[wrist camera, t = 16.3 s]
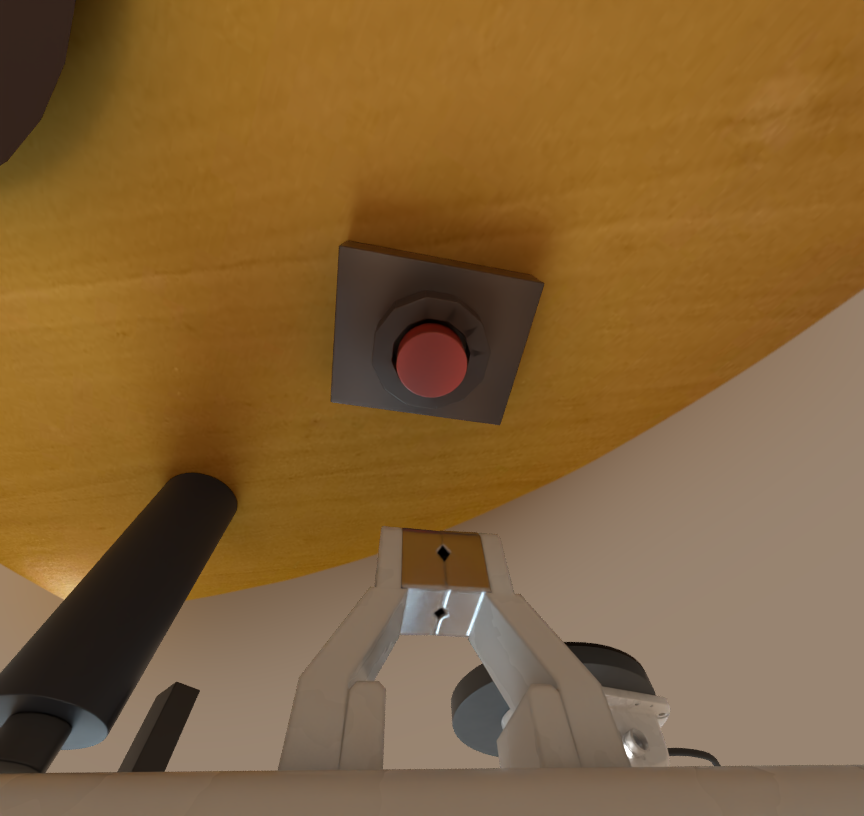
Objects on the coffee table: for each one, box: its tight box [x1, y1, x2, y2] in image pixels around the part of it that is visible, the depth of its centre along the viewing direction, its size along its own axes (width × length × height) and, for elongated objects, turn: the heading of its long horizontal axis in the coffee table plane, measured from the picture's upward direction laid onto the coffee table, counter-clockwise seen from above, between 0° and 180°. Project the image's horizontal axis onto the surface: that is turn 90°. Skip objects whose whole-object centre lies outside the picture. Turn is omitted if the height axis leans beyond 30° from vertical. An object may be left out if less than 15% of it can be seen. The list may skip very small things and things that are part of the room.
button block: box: [331, 241, 544, 425], centre depth 24 cm, size 12×10×4 cm
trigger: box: [118, 682, 200, 772], centre depth 21 cm, size 2×2×5 cm
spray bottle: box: [0, 473, 237, 773], centre depth 24 cm, size 10×6×22 cm, turn 43°
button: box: [396, 323, 467, 398], centre depth 22 cm, size 4×4×2 cm
